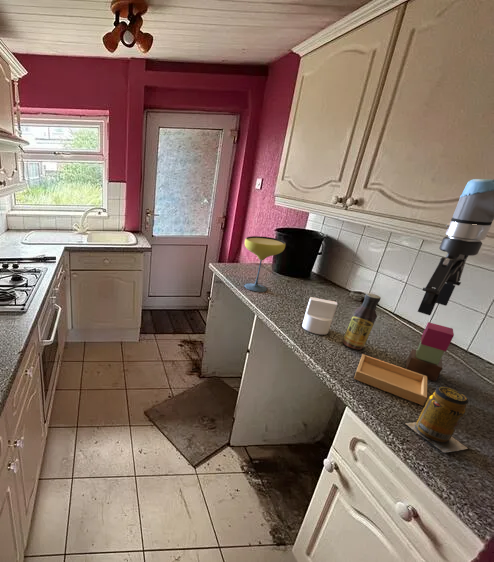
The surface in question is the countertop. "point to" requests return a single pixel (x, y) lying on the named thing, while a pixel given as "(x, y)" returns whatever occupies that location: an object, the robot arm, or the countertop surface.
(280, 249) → the cocktail glass
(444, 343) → the mulberry block
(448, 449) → the condiment
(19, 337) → the countertop surface
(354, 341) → the sauce bottle
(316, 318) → the base with upright slab
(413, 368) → the walnut block
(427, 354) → the sage block
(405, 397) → the oak tray
